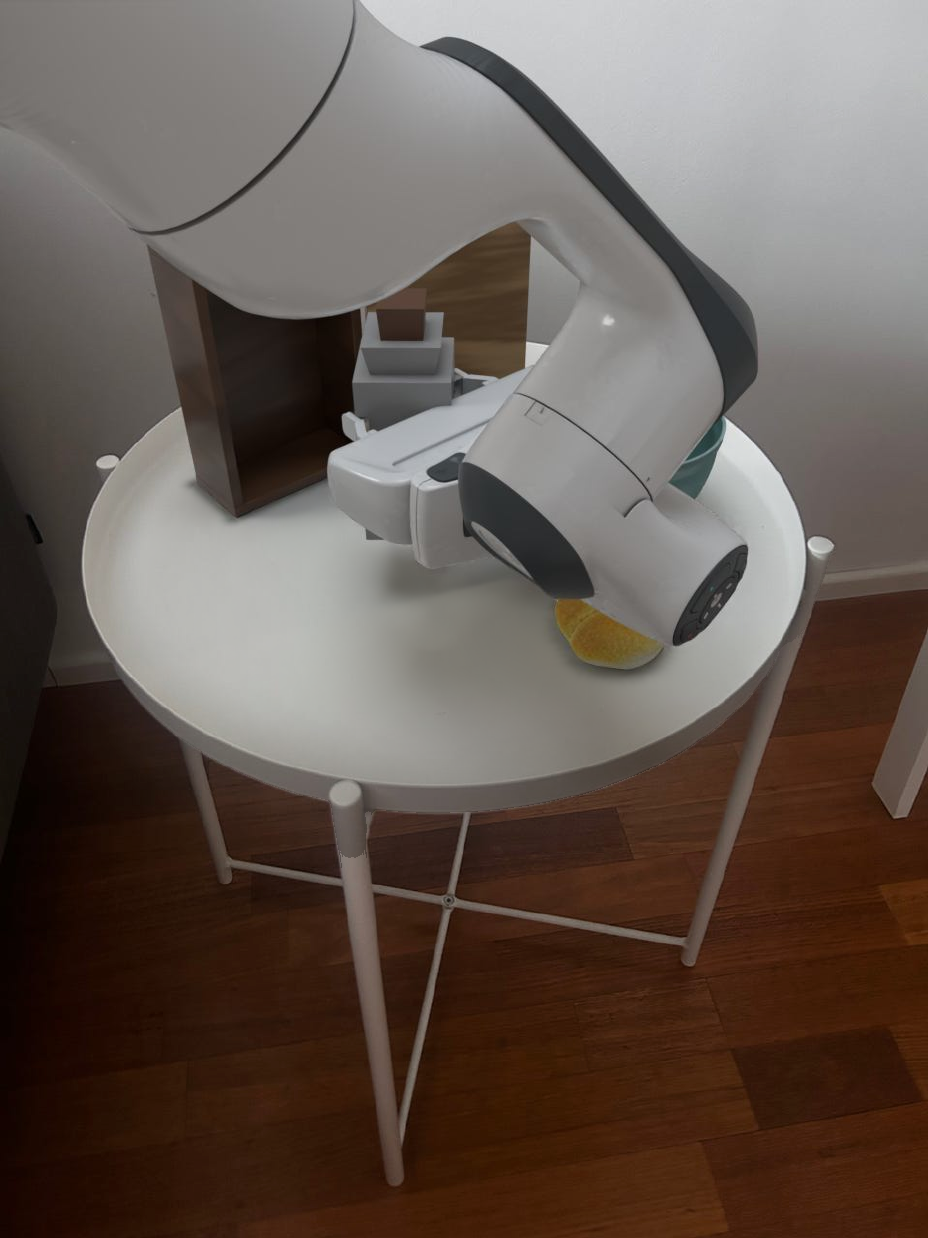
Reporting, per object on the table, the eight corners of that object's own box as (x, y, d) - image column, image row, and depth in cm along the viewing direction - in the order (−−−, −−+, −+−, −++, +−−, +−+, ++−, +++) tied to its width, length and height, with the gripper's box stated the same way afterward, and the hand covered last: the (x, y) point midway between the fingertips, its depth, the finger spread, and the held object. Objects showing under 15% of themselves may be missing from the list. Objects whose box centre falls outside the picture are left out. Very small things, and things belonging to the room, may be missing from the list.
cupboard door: (359, 430, 101) (341, 198, 85) (499, 403, 105) (505, 177, 89) (377, 462, 96) (361, 224, 81) (522, 433, 100) (532, 200, 85)
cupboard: (371, 457, 97) (354, 217, 82) (236, 517, 90) (189, 266, 75) (330, 428, 101) (306, 193, 86) (197, 483, 94) (145, 238, 79)
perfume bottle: (453, 540, 78) (449, 320, 66) (366, 539, 78) (346, 320, 66) (456, 490, 83) (453, 277, 71) (374, 489, 83) (357, 277, 71)
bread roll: (590, 686, 75) (595, 647, 72) (541, 611, 81) (543, 572, 78) (688, 658, 77) (696, 619, 74) (632, 587, 83) (638, 549, 80)
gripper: (640, 385, 69) (505, 317, 77) (403, 498, 59) (277, 407, 67) (630, 463, 73) (503, 391, 81) (408, 580, 64) (288, 485, 72)
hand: (399, 399), depth 74 cm, fingers closed on perfume bottle, 7 cm apart
